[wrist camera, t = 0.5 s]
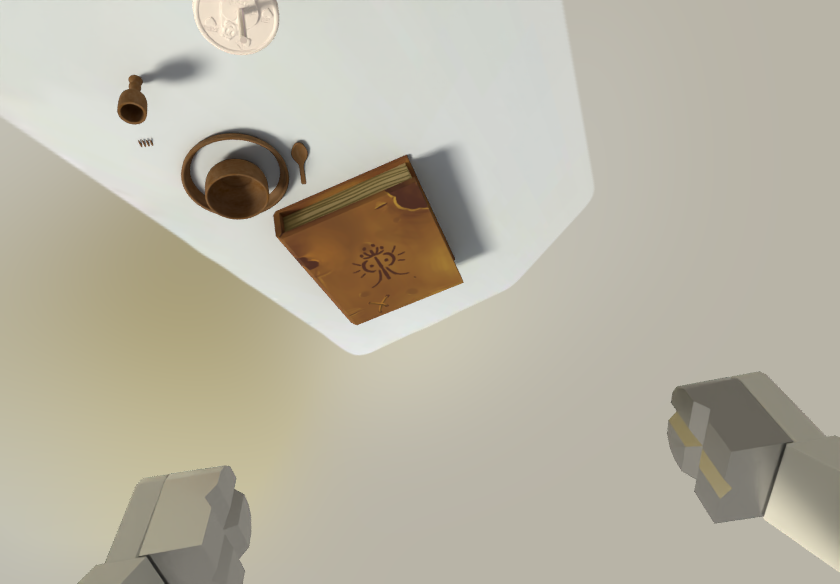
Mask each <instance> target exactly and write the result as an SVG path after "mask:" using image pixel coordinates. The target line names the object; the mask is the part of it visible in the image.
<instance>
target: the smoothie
mask: <svg viewBox="0 0 840 584" xmlns="http://www.w3.org/2000/svg"><path fill="white" fill-rule="evenodd" d="M193 12H194V18H195V21H196V24H197V26H198V28H199V30H200V32H201V33H202V35H203V36H204V37H205V38H206V39H207V40H208V41H209V42H210V43H211V44H212V45H214V46H215V47H217V48H218V49H220V50H222V51H225V52H227V53H231V54H236V55H248V54H253V53H256V52H258V51H260V50H262V49H264V48H265V47H267V46H268V45H269V44H270V43H271V41H272V40H273V39H274V37H275V35H276V33H277V30H278V26H279V10H278V3H277V1H276V0H193Z"/></svg>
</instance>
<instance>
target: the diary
mask: <svg viewBox="0 0 840 584" xmlns="http://www.w3.org/2000/svg"><path fill="white" fill-rule="evenodd" d="M273 216H274V224H275V233H276V237H277V238H278V239H279V240H280V241H281V243H282V244H283V245H284V246H285V247H286V248H287V249H288V251H289V252H290V253H291V254H292V255H293V256H294V257H295V259H296V260H297V261H298V262H299V263H300V264H301V266H302V267H303V268H304V269H305V270H306V271H307V272H308V274H309V275H310V276H311V277H312V278H313V279H314V280H315V282H316V283H317V284H318V285H319V286H320V287H321V288H322V290H323V291H324V292H325V293H326V294H327V295H328V296H329V298H330V299H331V300H332V301H333V302H334V303H335V305H336V306H337V307H338V308H339V309H340V310H341V311H342V313H343V314H344V315H345V316H346V317H347V318H348V319H349V321H350V322H351V323H353V324H355V325H359V324H361V323H364V322H366V321H369V320H371V319H374V318H376V317H379V316H381V315H384V314H386V313H389V312H391V311H394V310H396V309H399V308H401V307H404V306H406V305H409V304H411V303H414V302H416V301H419V300H421V299H424V298H426V297H429V296H431V295H434V294H436V293H439V292H441V291H444V290H446V289H449V288H451V287H454V286H456V285H459V284H461V283H464V282H463V280H462V277H461V275H460V273H459V271H458V269H457V267H456V264H455V262H454V260H455V258H454V256H453V254H452V251H451V249H450V247H449V245H448V243H447V241H446V238H445V236H444V234H443V232H442V230H441V228H440V226H439V223H438V221H437V219H436V217H435V215H434V213H433V210H432V208H431V206H430V204H429V202H428V200H427V198H426V195H425V193H424V191H423V189H422V187H421V185H420V182H419V180H418V178H417V176H416V174H415V172H414V170H413V167H412V165H411V163H410V161H409V159H408V157H407V155H405V156H402V157H400V158H398V159H395V160H393V161H391V162H389V163H386V164H384V165H382V166H379V167H377V168H375V169H372V170H370V171H368V172H365V173H363V174H361V175H359V176H356V177H354V178H352V179H349V180H347V181H345V182H342V183H340V184H338V185H335V186H333V187H331V188H329V189H326V190H324V191H322V192H319V193H317V194H315V195H312V196H310V197H308V198H306V199H303V200H301V201H299V202H296V203H294V204H292V205H289V206H287V207H285V208H282V209H280V210H278V211H276V212H275V214H274V215H273Z"/></svg>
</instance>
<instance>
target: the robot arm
mask: <svg viewBox="0 0 840 584" xmlns="http://www.w3.org/2000/svg"><path fill="white" fill-rule="evenodd" d="M671 403H672V405H673V406H674V408H675V409H676V413H675V414H674V415H673V416H672V417H671V418H670V419H669V421H668V431H667V435H668V440H669V445H670V449H671V452H672V454H673V456H674V459H675V461H676V462H677V464H678V466H679V467H680V469H681V471H683V472H684V473H686V474H688V475H689V476H691V477H693V478H695V479H696V485H695V491H694V492H695V493H696V495H697V496H698V498H699V500H700V501H701V503H702V504H703V506H704V508H705V509H706V511H707V512H708V514H709V515H710V517H711V519H712V520H713V522H714V523H721V522H728V521H735V520H742V519H748V518H755V517H762V516H764V518H763V519H764V520H766V521H767V522H769V523H770V524H771V525H773V526H774V527H776V528H777V529H779V530H780V531H781V532H783V533H784V534H786V535H787V536H788V537H790V538H791V539H793V540H794V541H795V542H797V543H798V544H800V545H801V546H803V547H804V548H805V549H807V550H808V551H810V552H811V553H813V554H814V555H816V556H817V557H818V558H820V559H821V560H823V561H824V562H826V563H827V564H828V565H830V566H831V567H833V568H834V569H835V570H837V571H838V572H840V437H837V436H830V437H826V436H825V435H824V434H823V433H822V431H821V430H820V429H819V428H818V427H817V426H816V425H815V424H814V423H813V422H812V421H811V420H810V419H809V418H808V417H807V416H806V415H805V414H804V413H803V412H802V411H801V410H800V409H799V408H798V407H797V406H796V405H795V403H793V401H792V400H791V399H790V398H789V397H788V396H787V395H786V394H785V393H784V392H783V391H782V390H781V389H780V388H779V387H778V386H777V385H776V384H775V383H774V382H773V381H772V380H771V379H770V378H769V377H768V376H767V375H766V374H764V373H762V372H754V373H748V374H743V375H737V376H732V377H725V378H720V379H714V380H709V381H704V382H699V383H693V384H687V385H682V386H677V387H676V388H675V390H674V391H673V393H672V400H671ZM235 483H236V476H235V475H234V473H233V471H232V469H231V467H230V466H219V467H213V468H205V469H198V470H192V471H185V472H178V473H171V474H168V475H162V476H154V477H148V478H143V479H142V480H141V481H140V482H139V483H138V484H137V485H136V487H135V489H134V492H133V494H132V497H131V499H130V502H129V504H128V507H127V509H126V511H125V514H124V517H123V519H122V521H121V524H120V526H119V529H118V531H117V534H116V537H115V539H114V541H113V544H112V546H111V549H110V551H109V554H108V556H107V559H106V561H105V563H104V564H100V565H96V566H95V567H94V568H93V569H92V570H91V571H90V572H89V573H88V574H86V576H85V577H83V578H82V580H80V581H79V582H78V583H77V584H243V579H244V573H245V570H244V568H243V566H242V564H241V562H240V560H239V559H240V557H241V556H242V555H243V554H244V552H245V551H246V550H247V549H248V547H249V544H250V537H251V514H250V509H249V505H248V502H247V500H246V498H245V495H244V494H243V493H241V492H239V491H237V490H235V489H234V487H235Z"/></svg>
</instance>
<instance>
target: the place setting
mask: <svg viewBox="0 0 840 584" xmlns="http://www.w3.org/2000/svg"><path fill="white" fill-rule="evenodd" d="M129 82H130V84H129V89H127V90H125V91H123V92H122V94H121V95H120V98H119V101H118V109H117V112H118V115H119V117H120V118H121V119H122V120H123V121H125V122H127V123H129V124H140V123H142V122H144V121H145V119H146V116H147V100H146V98H145V96H144V95H143V94H142V93H141V92H140V91H141V85H142V83H143V81H142V79H141V78H140V77H139V76H137V75H131V76H130V77H129ZM232 139H234V140H244V141H249V142H253V143H256V144H259V145H261V146H263V147H265V148H267V149H268V150H269V151H270V152H271V153H272V154H273V155H274V156H275V158H276V159H277V161H278V164H279V167H280V178H279V182H278V184H277V186H276V188H275V189H274V190H273V191H272V192H271V193H270V194H269V189H268V183H267V179H266V177H265V175H264V173H263V172H262V170H261V169H260V168H259V167H258V166H256V165H255V164H253V163H251V162H249V161H246V160H242V159H228V160H224V161H221V162H219V163H217V164H216V165H215V166H213V167H212V168H211V170H210V171H209V173H208V175H207V177H206V182H205V195H204V194H203V193H202V192H200V191H199V190H198V188H197V187H196V186H195V184H194V183H193V181H192V178H191V175H190V164H191V161H192V158H193V156H194V155H195V154H196V152H197V151H198V150H199V149H200V148H202V147H204V146H206V145H208V144H210V143H213V142H217V141H222V140H232ZM149 140H150V139H149ZM138 141H139V140H138ZM142 142H143V144H144V146H145V147H146V145H145V143H144V141H143V140H142ZM146 142H147V144H148V146H150V145H149V143H148V141H147V140H146ZM150 142H151V140H150ZM139 144H140V146H141V147H142V144H141V143H140V141H139ZM151 145H152V146H153V143H152V142H151ZM291 154H292V157H293V159H294V160H295V161H296V162H297V163H298V165H299V168H300V175H301V183H302V184H306V178H305V173H304V162H305V160H306V159H307V156H308V151H307V149H306V147H305V146H304V145H303V144H302V143H300V142H298V143H295V144H294V146H293V148H292V151H291ZM181 178H182V184H183V187H184V189H185V191H186V192H187V194H188V195H189V197H190V198H191V199H192V200H193V201H194V202H195V203H197V204H198V205H199V206H201V207H202V208H204V209H206V210H208V211H210V212H213V213H216V214H218V215H220V216H223V217H225V218H229V219H247V218H251V217H254V216H256V215H258V214H259V213H262V212H264V211H266V210H268V209H270V208H271V207H273V206H274V205H276V204H277V203H278V202H279V201H280V200H281V199H282V197H283V196H284V194H285V193H286V190H287V188H288V184H289V174H288V169H287V166H286V164H285V161H284V160H283V158H282V156H281V155H280V154H279V153H278V151H277V150H276V149H274V148H273V147H272V146H271V145H269V144H268V143H266V142H265V141H263V140H261V139H258V138H256V137H253V136H250V135H245V134H238V133H226V134H219V135H215V136H212V137H209V138H207V139H205V140H203V141H201V142H199V143H198V144H197V145H195V146H194V147H193V148H192V149H191V150H190V151H189V153H188V154H187V156H186V157H185V160H184V162H183V165H182V171H181Z"/></svg>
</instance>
